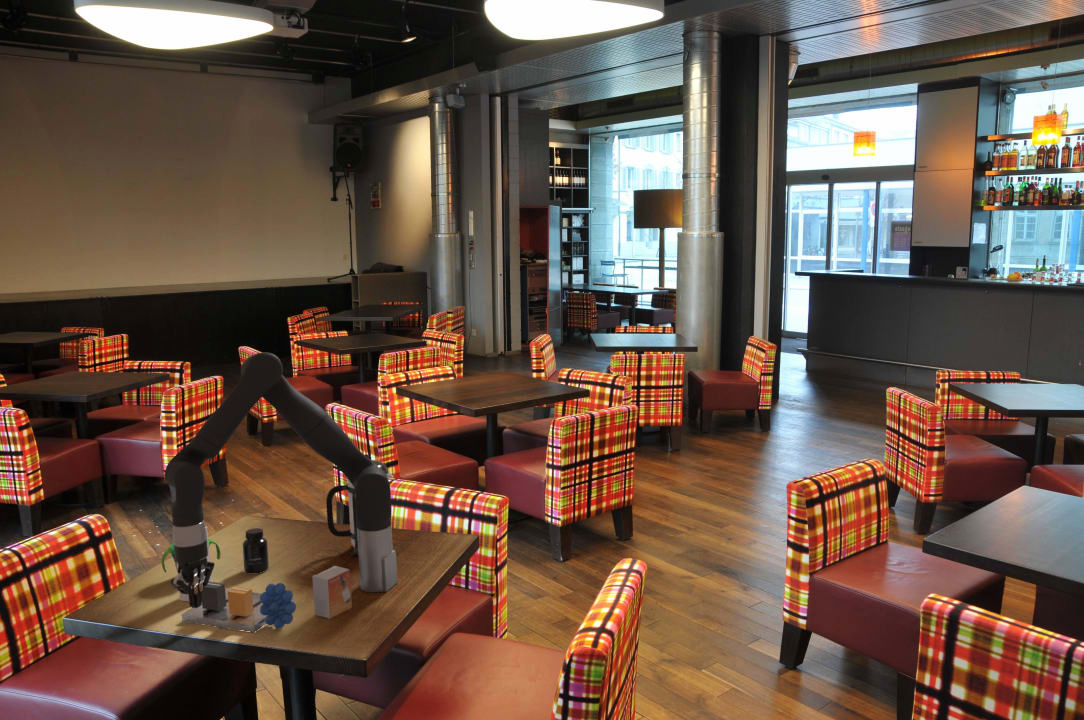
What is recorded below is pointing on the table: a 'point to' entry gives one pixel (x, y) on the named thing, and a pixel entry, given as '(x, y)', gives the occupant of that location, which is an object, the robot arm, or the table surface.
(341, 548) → the table surface
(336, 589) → the small box
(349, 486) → the coffee press
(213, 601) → the block
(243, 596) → the orange fader
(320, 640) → the table surface
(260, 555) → the supplement bottle
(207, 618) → the console
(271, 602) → the grapes
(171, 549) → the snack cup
